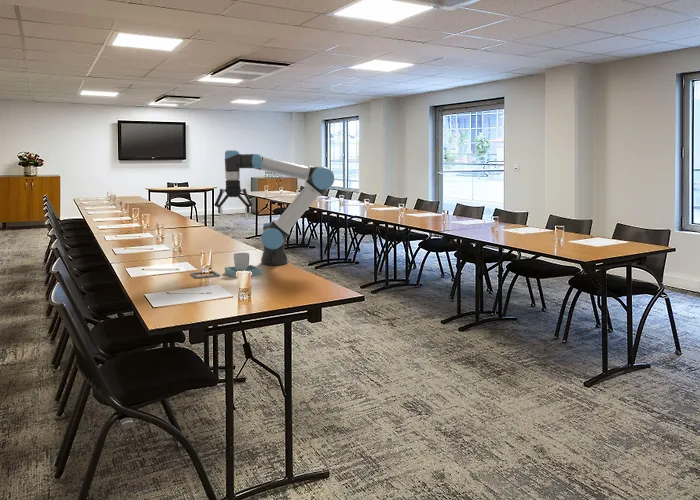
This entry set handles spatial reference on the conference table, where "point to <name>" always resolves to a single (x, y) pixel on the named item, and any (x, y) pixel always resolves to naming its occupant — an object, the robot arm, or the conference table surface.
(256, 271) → the bin
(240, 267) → the cup
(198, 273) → the grey flat square frame
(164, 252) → the conference table surface
